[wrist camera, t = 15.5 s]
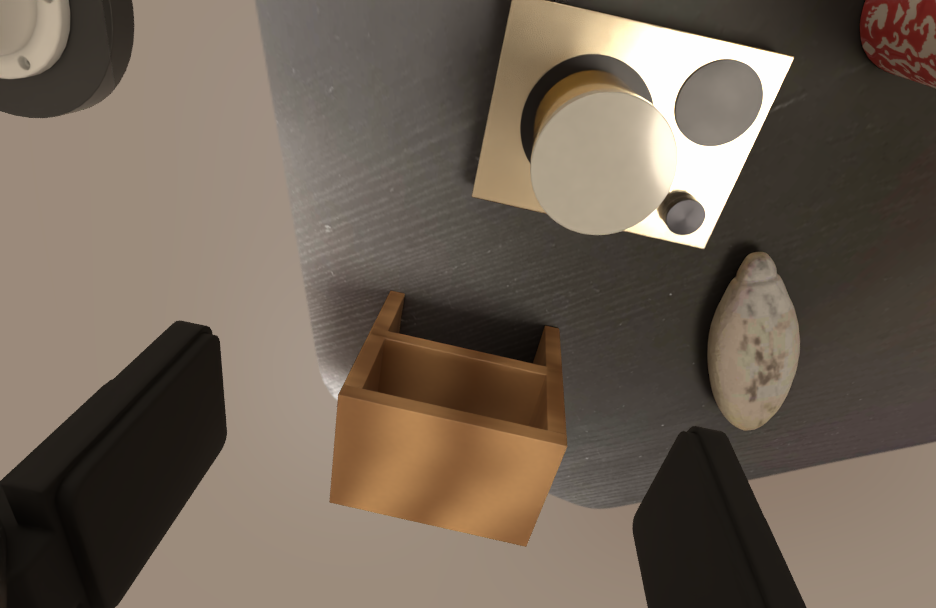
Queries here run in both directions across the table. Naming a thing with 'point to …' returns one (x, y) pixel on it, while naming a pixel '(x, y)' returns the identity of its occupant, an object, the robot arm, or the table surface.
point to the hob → (653, 78)
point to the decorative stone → (753, 344)
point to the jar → (600, 154)
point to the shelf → (449, 432)
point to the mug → (901, 37)
